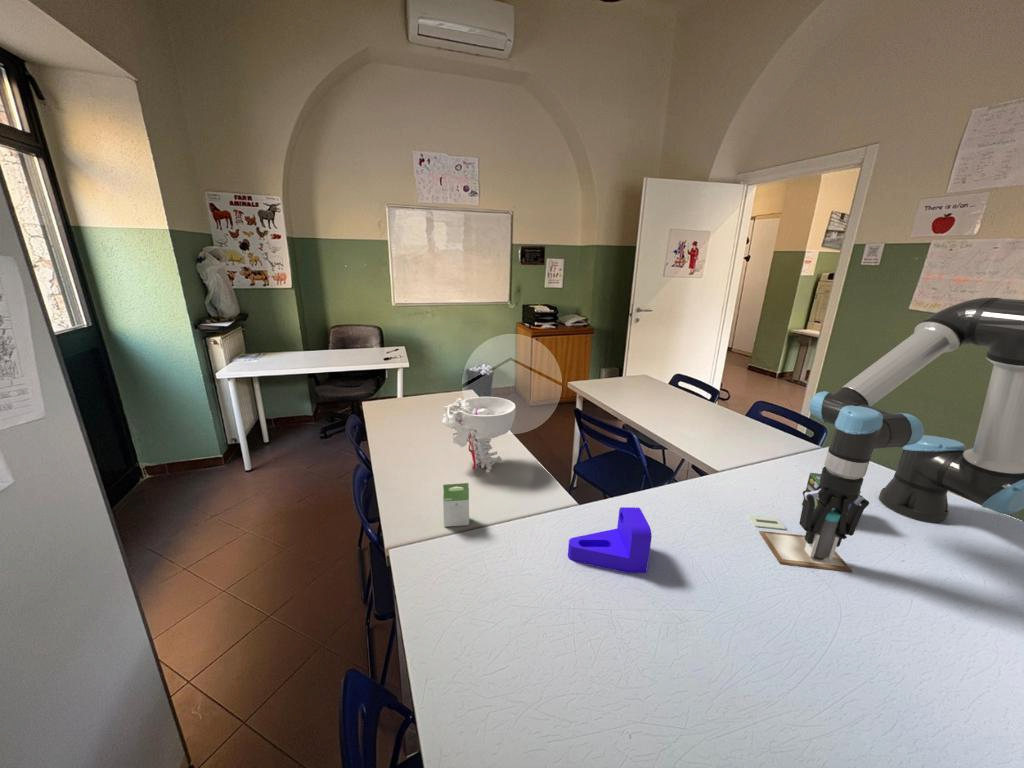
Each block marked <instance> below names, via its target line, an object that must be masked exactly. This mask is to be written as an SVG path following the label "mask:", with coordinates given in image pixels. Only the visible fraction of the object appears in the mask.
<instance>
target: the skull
mask: <svg viewBox="0 0 1024 768" xmlns="http://www.w3.org/2000/svg"><path fill="white" fill-rule="evenodd" d="M443 409H444V410H445V413H444V414H443V415H442V416H443V417H442V421H441V423H442V424H443V425H444V426H446V427H447V428H449V429H451V430H453V429H454V431H455V432H456V433H452V442H453V444H454V445H458V446H459V447H460V448H464V447H465V446H466V445H467V444H468V451H469V452H470V454H471V457H472V462H473V465H472V469H475V468H476V465H478V468H479V469H480V467H481V469H484V468H486V469H485V472H486V473H491V471H492V465H494V464H496V463H495V462H499V463H501V462H502V457H501V456H500V455H498V451H494V452H490V451H491V450H492V449H493V446H492V444H490V443H491V440H492V439H494V438H497V437H500V436H503V435H506V434H507V433H509V431H510V430H511V428H512V426H513V424H514V422H515V416H516V410H517V409H516V404H515V403H514V402H513V401H511V400H509V399H506V398H501V397H496V396H476V397H470V398H466V399H463V398H462V397H459V398H457V399H456V401H455V402H453V403H450V404H448V405H445V406H443ZM496 455H498V456H497V457H493V456H496Z"/></svg>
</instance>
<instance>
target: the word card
mask: <svg viewBox="0 0 1024 768" xmlns="http://www.w3.org/2000/svg"><path fill="white" fill-rule="evenodd" d="M747 515H748V516H747V517H748V519H749V520H750V521H751V523H752V525H753V526H754V527H755V528H763V529H772V530H773V529H774V530H781V531H783V530H784V531H786V530H787V528H786V526H785V525H784V524H783V522H782V521H781V520H780V519H779V517H774V516H773V517H772V516H763V515H762V516H761V515H753V514H747Z"/></svg>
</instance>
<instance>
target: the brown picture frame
mask: <svg viewBox="0 0 1024 768" xmlns="http://www.w3.org/2000/svg"><path fill="white" fill-rule="evenodd" d="M758 533H759V534H760V535H759V536H761V538H762V540H763V541H764V543H765V544H766V546H767V547H768V548H769V550H770V551H771V553H772V555H774V557H775V559H776V561H778V563H779V564H780V565H788V566H796V567H805V568H814V569H822V570H829V571H839V572H840V571H841V572H847V573H848V572H849V573H851V572H852V571H853V570H852V568H851V567H850V566H849V565H848V564H847V563H846V561H845V560H844V559H843V557H841V556H840V555H839V554H838V552H836V550H835V552H834V555H833V559H832V560H831V559H828V558H824V559H823V560H818V559H816V558H814V557H810V556H809V555H808V554H807V552H806V551H805V550H804V549H805V546H806V541H805V535H806V534H805V535H802V534H793V533H785V532H776V531H775V532H773V531H766V530H765V531H764V530H759V531H758Z"/></svg>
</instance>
